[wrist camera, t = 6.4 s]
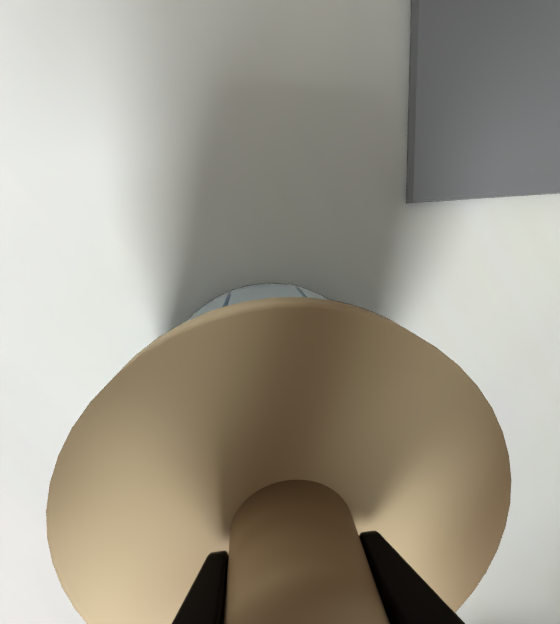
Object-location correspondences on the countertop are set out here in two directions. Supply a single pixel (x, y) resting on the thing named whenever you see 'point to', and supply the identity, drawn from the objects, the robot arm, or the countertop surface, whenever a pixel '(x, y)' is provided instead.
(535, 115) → the mat
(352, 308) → the lid
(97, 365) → the countertop surface
